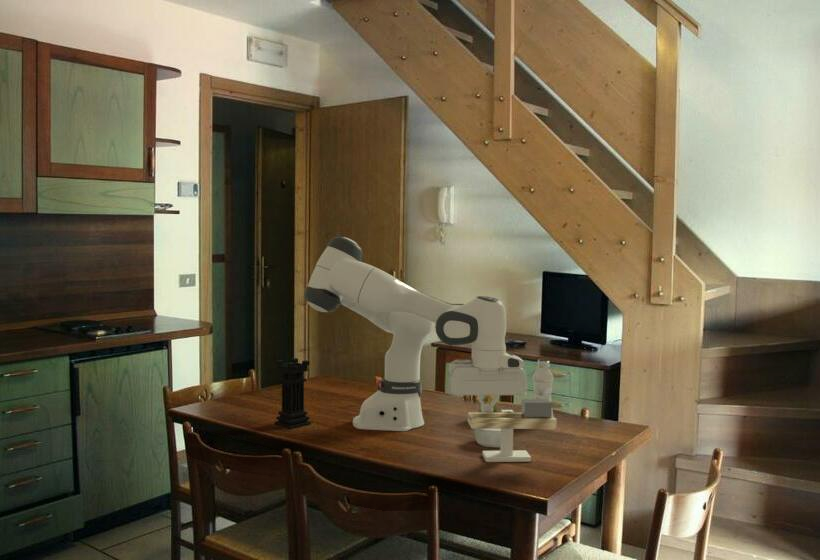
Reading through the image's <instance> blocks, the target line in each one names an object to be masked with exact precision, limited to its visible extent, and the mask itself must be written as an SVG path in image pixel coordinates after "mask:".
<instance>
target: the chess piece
mask: <svg viewBox="0 0 820 560" xmlns="http://www.w3.org/2000/svg"><path fill="white" fill-rule="evenodd" d="M310 362H311V361H310V360H301V362H299V358H297V357H292V358H290V362H287V363H285V361H284V360H281V359H279V360H276V366H278V367H277V369H278V372H279V373H280V372H281V378H280V379H279V381H280V382H281V410H279V411H278V416H276V417H275V418H276V421H274V425H276V426H278V425H279V427H283V428H285V427H286V428H285V429H288V428H289V430H294V429H298V428H301V427H306V426H309V425H311V426H312V421H310V416H307V415H308V411H306V410H305V382H306V381H307V379H306V378H305V372H308V370H309V369H308V366H310ZM297 427H298V428H297ZM293 428H294V429H293Z"/></svg>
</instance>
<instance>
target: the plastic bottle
mask: <svg viewBox="0 0 820 560" xmlns="http://www.w3.org/2000/svg"><path fill="white" fill-rule="evenodd" d="M536 366H537V368H536V370H535V371H534V373H533V374H532V383H533V393H534V394H533V399H548V400H549V401H550V402H552V391H553V385H554V384H553V383H554V375H553V373H552V371H551V370H550V366H551V365H550V360H547V359H538V360H537V364H536ZM551 414H552V415H553V416H554V411H553V409H552V413H551Z"/></svg>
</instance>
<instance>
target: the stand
mask: <svg viewBox="0 0 820 560" xmlns="http://www.w3.org/2000/svg"><path fill="white" fill-rule="evenodd" d="M500 411H501V412H500V413H506V412H508V411H510V412H512V413H515V412H514V410H513V409H501V410H500ZM499 448H500V449H499V450H482V457H483V459H484V461H485V462H486V463H501V462H502V463H505V462H507V463H514V462H516V463H518V462H519V463H521V462H527V463H528V462H532V456H531V455H530V453H528V451H527V450H524V449H523V450H520V449H519V450H514V429H501V443H500V447H499Z"/></svg>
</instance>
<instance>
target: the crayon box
mask: <svg viewBox="0 0 820 560" xmlns="http://www.w3.org/2000/svg"><path fill="white" fill-rule="evenodd" d="M492 399H493V398H492V397H491V395H484V399H482V401H483V403H484V404H490V403H491V401H492ZM479 413H498V401H497V402H496V403H495V405H494V411H493V412H482V411H481V403H480V402H479Z"/></svg>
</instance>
